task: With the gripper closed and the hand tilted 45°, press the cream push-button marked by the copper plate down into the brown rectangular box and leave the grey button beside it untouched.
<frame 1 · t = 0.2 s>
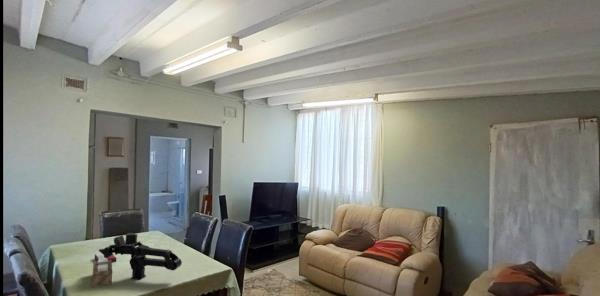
hand: (104, 248, 213), 17 cm above the table, tool horizontal, fingers open, 9 cm apart
grey button: (102, 262, 208), point 8 cm above the table, slide at 0.0 cm
brown rectangular box: (101, 279, 203), on the table
cream button: (102, 268, 199), point 9 cm above the table, slide at 0.0 cm
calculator: (105, 261, 237), on the table
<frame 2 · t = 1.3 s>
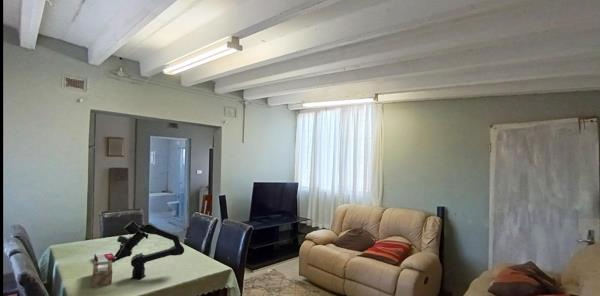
hand: (114, 258, 202), 14 cm above the table, tool tilted 45°, fingers open, 7 cm apart
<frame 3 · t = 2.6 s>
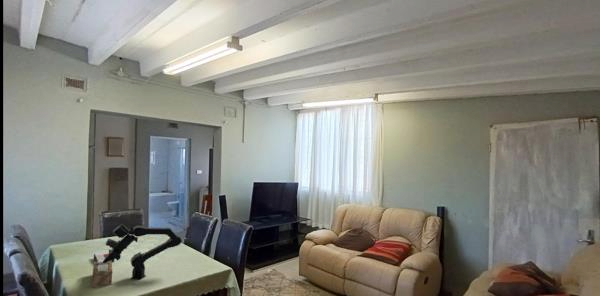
hand: (103, 262, 199), 12 cm above the table, tool tilted 45°, fingers closed
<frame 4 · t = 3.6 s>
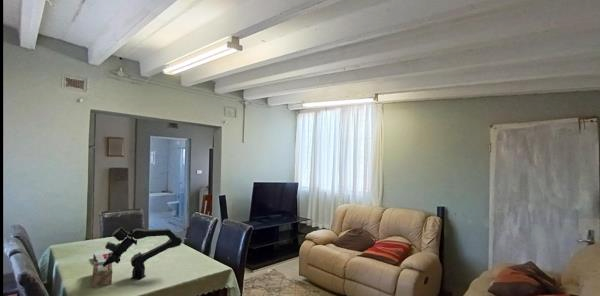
hand: (102, 265, 199), 10 cm above the table, tool tilted 45°, fingers closed, pressing on cream button
cream button: (102, 268, 199), point 8 cm above the table, slide at 0.2 cm, touching gripper
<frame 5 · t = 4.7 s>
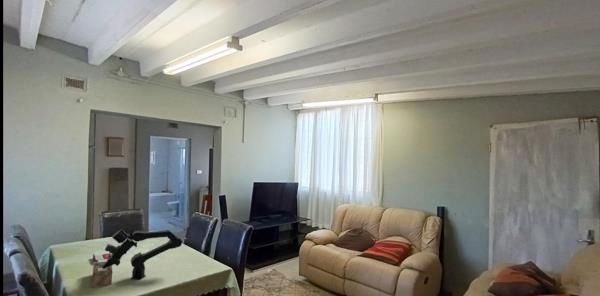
hand: (102, 268, 199), 9 cm above the table, tool tilted 45°, fingers closed
cream button: (102, 271, 199), point 7 cm above the table, slide at 1.7 cm
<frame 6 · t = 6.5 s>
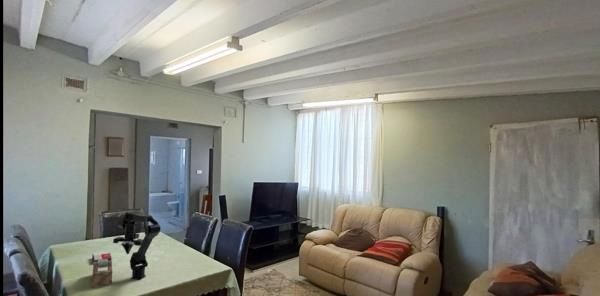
hand: (127, 254, 216), 12 cm above the table, tool pointing down, fingers closed
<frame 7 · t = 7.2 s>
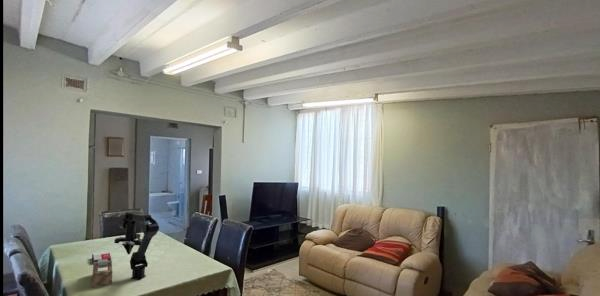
hand: (128, 254, 217), 12 cm above the table, tool pointing down, fingers closed
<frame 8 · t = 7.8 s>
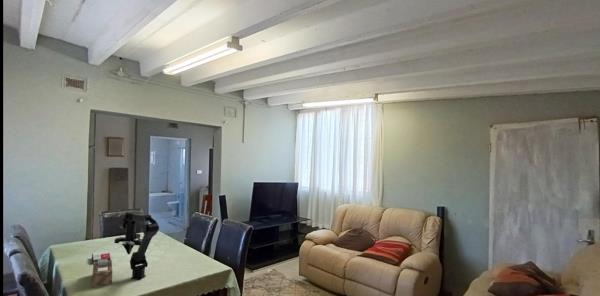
hand: (128, 254, 217), 12 cm above the table, tool pointing down, fingers closed
at the end: cream button slide at 1.7 cm; grey button slide at 0.0 cm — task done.
